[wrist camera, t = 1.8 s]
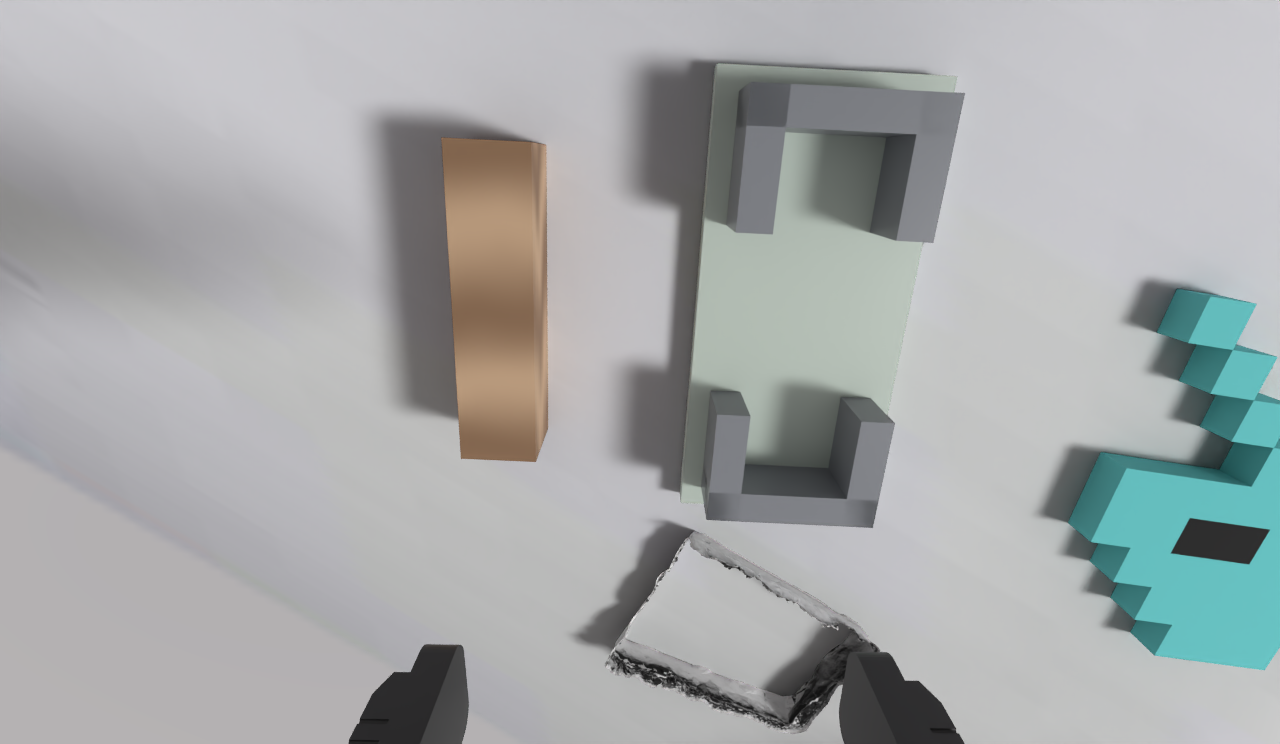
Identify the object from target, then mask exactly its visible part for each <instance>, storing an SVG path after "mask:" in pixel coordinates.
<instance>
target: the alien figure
mask: <svg viewBox="0 0 1280 744" xmlns="http://www.w3.org/2000/svg"><path fill="white" fill-rule="evenodd" d="M1255 306H1256V304H1255V303H1250V302H1246V301H1242V300H1237V299H1233V298H1228V297H1224V296H1219V295H1213V294H1207V293H1201V292H1195V291H1189V290H1182V289H1177V290H1176V292H1175V294H1174V296H1173V298H1172V301H1171V303H1170V305H1169V307H1168V309H1167V311H1166V313H1165V316H1164V318H1163V320H1162V322H1161V324H1160V326H1159V328H1158V331H1157V333H1159V334H1162V335H1166V336H1169V337H1172V338H1175V339H1178V340H1181V341H1184V342H1187V343H1192V344H1197V345H1196V347H1195V349H1194V351H1193V353H1192V355H1191V357H1190V359H1189V361H1188V363H1187V365H1186V367H1185V369H1184V371H1183V373H1182V375H1181V377H1180V379H1179V381H1180V382H1183V383H1185V384H1188V385H1190V386H1193V387H1195V388H1198V389H1200V390H1203V391H1205V392H1207V393H1210V394H1216V396H1215V398H1214V400H1213V402H1212V403H1211V405H1210V407H1209V409H1208V411H1207V413H1206V415H1205V417H1204V419H1203V421H1202V423H1201V425H1200V427H1202V428H1204V429H1206V430H1208V431H1210V432H1212V433H1214V434H1217V435H1219V436H1221V437H1223V438H1225V439H1227V440H1229V441H1231V442H1234V444H1233V446H1232V447H1231V449H1230V451H1229V453H1228V455H1227V457H1226V458H1225V460H1224V462H1223V464H1222V466H1221V467H1220V469H1219V470H1218V469H1211V468H1205V467H1198V466H1191V465H1185V464H1178V463H1171V462H1165V461H1158V460H1151V459H1144V458H1138V457H1131V456H1124V455H1118V454H1111V453H1104V452H1101V453H1100V455H1099V457H1098V459H1097V461H1096V463H1095V465H1094V468H1093V470H1092V472H1091V474H1090V476H1089V478H1088V480H1087V483H1086V485H1085V487H1084V489H1083V491H1082V493H1081V495H1080V498H1079V500H1078V502H1077V504H1076V506H1075V508H1074V510H1073V513H1072V515H1071V517H1070V519H1069V521H1068V523H1069V524H1070V525H1071V526H1072V527H1074V528H1075V529H1076V530H1077V531H1078V532H1079V533H1081V534H1082V535H1083V536H1084V537H1085V538H1087V539H1088V540H1089V541H1090V542H1094V543H1098V545H1097V547H1096V549H1095V551H1094V553H1093V555H1092V557H1091V559H1090V562H1091V563H1093V564H1094V565H1095V566H1096V567H1097V568H1098V569H1099V570H1100V571H1102V572H1103V573H1104V574H1105V575H1106V576H1107V577H1108V578H1109V579H1110V580H1112V581H1113V582H1118V584H1117V586H1116V588H1115V590H1114V591H1113V593H1112V595H1111V598H1112V599H1113V600H1114V601H1115V602H1116V603H1117V604H1118V605H1119V606H1120V607H1121V608H1122V609H1124V610H1125V611H1126V612H1127V613H1128V614H1129V615H1130V616H1131V617H1132V618H1133V619H1134V620H1137V621H1136V622H1135V624H1134V626H1133V628H1132V630H1131V633H1132V634H1133V635H1134V636H1135V637H1136V638H1137V639H1138V640H1139V641H1140V642H1141V643H1142V644H1143V645H1144V646H1145V647H1146V648H1147V649H1148V650H1149V651H1150V652H1151V653H1152V654H1154V655H1155V656H1162V657H1170V658H1177V659H1184V660H1192V661H1199V662H1207V663H1214V664H1222V665H1229V666H1237V667H1244V668H1252V669H1259V670H1265V669H1266V667H1267V666H1268V664H1269V663H1270V661H1271V660H1272V658H1273V657H1274V655H1275V654H1276V652H1277V650H1278V649H1279V647H1280V439H1279V438H1280V401H1279V400H1277V399H1274V398H1271V397H1269V396H1266V395H1263V394H1260V393H1258V392H1259V390H1260V388H1261V387H1262V385H1263V383H1264V381H1265V379H1266V377H1267V376H1268V374H1269V372H1270V370H1271V368H1272V366H1273V365H1274V363H1275V361H1276V359H1277V357H1276V356H1272V355H1269V354H1266V353H1262V352H1259V351H1256V350H1253V349H1249V348H1246V347H1243V346H1238V345H1236V343H1237V341H1238V339H1239V337H1240V335H1241V333H1242V331H1243V330H1244V328H1245V326H1246V324H1247V322H1248V320H1249V318H1250V316H1251V314H1252V312H1253V310H1254V308H1255Z"/></svg>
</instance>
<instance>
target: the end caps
mask: <svg viewBox="0 0 1280 744" xmlns="http://www.w3.org/2000/svg"><path fill="white" fill-rule="evenodd" d="M964 95H965V93H953V92H934V91H915V90H897V89H878V88H859V87H840V86H822V85H803V84H784V83H765V82H750V83H749V84H747V85H746V86H745V87H744V88H742V89H741V90H740V91H739V96H738V107H737V117H736V128H735V138H734V148H733V159H732V169H731V180H730V190H729V201H728V211H727V222H726V226H728V227H729V228H730V229H732V230H733V231H734V232H736V233H752V234H772V235H773V229H774V221H775V213H776V205H777V196H778V188H779V180H780V172H781V164H782V155H783V147H784V139H785V132H789V133H808V134H827V135H846V136H865V137H884V138H886V142H885V148H884V154H883V159H882V165H881V171H880V176H879V182H878V188H877V193H876V199H875V205H874V210H873V216H872V222H871V228H870V233H872V234H875V235H879V236H882V237H885V238H888V239H892V240H895V241H908V242H928V243H933V241H934V237H935V232H936V227H937V222H938V218H939V213H940V208H941V204H942V199H943V194H944V189H945V185H946V180H947V175H948V171H949V166H950V161H951V156H952V152H953V147H954V142H955V138H956V133H957V128H958V123H959V119H960V114H961V109H962V105H963V100H964ZM750 418H751V416H750V414H749V411H748V409H747V406H746V404H745V402H744V399H743V397H742V394H741V392H733V391H713V390H710V399H709V410H708V420H707V431H706V441H705V452H704V462H703V473H702V483H701V490H702V496H703V502H704V507H705V513H706V519H707V520H720V521H741V522H762V523H784V524H805V525H826V526H847V527H868V528H873V524H874V519H875V515H876V510H877V505H878V500H879V496H880V491H881V486H882V482H883V477H884V472H885V467H886V463H887V458H888V453H889V449H890V444H891V439H892V434H893V430H894V425H895V423H894V422H893V421H892V420H891V419H890V418H889V417H888V416H887V415H886V414H885V413H884V412H883V410H882V409H881V408H880V407H879V406H878V405H877V404H876V403H875V402H874V401H873V400H872V399H871V398H855V397H841V398H840V404H839V410H838V415H837V421H836V427H835V432H834V438H833V444H832V449H831V455H830V461H829V467H828V468H815V467H794V466H774V465H753V464H745V458H746V450H747V442H748V434H749V426H750Z"/></svg>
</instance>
